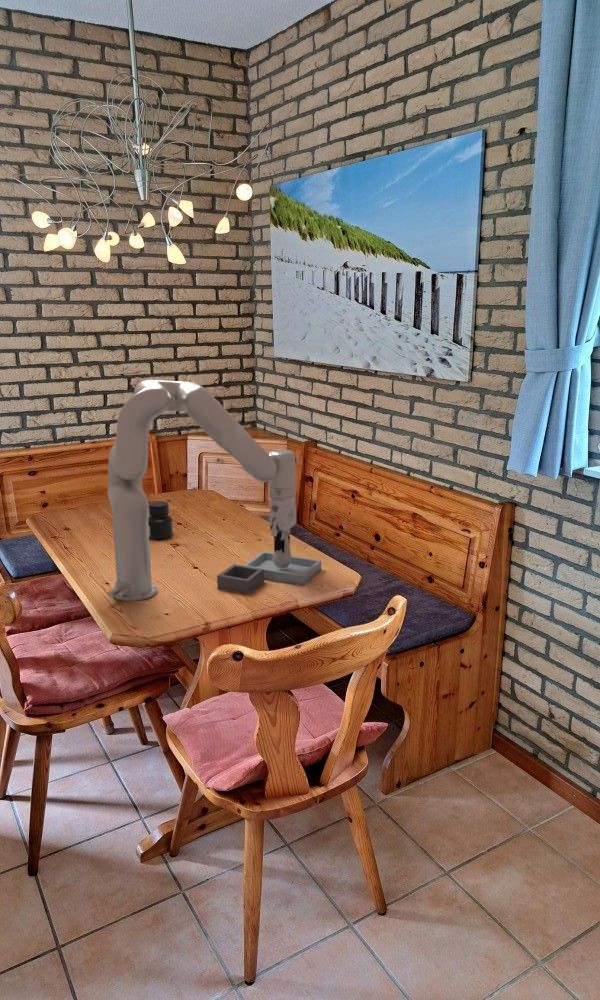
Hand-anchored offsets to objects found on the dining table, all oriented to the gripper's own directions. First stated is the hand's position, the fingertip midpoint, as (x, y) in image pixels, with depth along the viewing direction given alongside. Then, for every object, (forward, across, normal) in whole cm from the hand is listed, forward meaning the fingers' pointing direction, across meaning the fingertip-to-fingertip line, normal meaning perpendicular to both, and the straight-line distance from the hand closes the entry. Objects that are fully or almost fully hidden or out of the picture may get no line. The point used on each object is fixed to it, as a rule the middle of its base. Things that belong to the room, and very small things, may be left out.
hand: (282, 549), depth 215 cm
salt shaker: (+5, 0, 0) cm, 5 cm away
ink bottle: (+8, +13, +53) cm, 55 cm away
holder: (+8, -14, +7) cm, 17 cm away
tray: (+8, 0, 0) cm, 8 cm away
